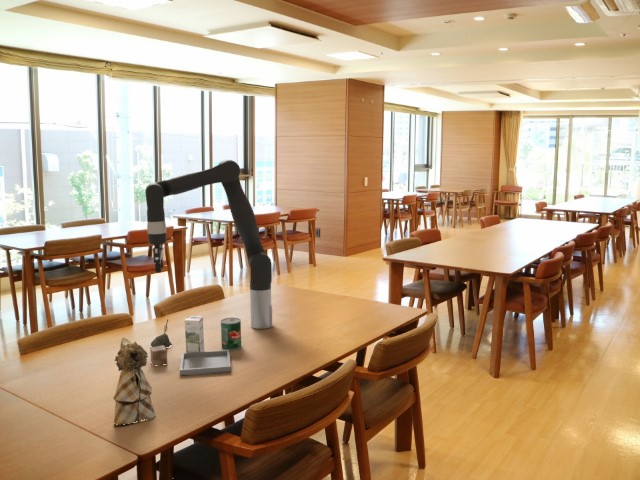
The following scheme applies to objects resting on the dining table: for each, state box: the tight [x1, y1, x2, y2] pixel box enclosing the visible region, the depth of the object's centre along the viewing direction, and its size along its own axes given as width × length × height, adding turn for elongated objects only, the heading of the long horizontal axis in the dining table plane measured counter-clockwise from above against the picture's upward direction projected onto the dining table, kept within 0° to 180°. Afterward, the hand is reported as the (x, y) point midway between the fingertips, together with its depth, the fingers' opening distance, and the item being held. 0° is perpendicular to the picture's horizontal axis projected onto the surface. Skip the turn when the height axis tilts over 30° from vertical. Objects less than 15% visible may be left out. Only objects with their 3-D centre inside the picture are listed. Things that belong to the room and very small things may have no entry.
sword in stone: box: [150, 318, 173, 348], centre depth 239 cm, size 10×8×12 cm
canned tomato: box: [220, 317, 242, 351], centre depth 237 cm, size 8×8×11 cm
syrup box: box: [184, 315, 205, 353], centre depth 229 cm, size 6×6×14 cm
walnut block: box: [149, 345, 168, 367], centre depth 220 cm, size 5×5×6 cm
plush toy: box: [112, 336, 156, 426], centre depth 176 cm, size 14×14×25 cm
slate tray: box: [179, 349, 232, 376], centre depth 218 cm, size 18×18×2 cm
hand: (159, 270), depth 248 cm, fingers open, 8 cm apart
